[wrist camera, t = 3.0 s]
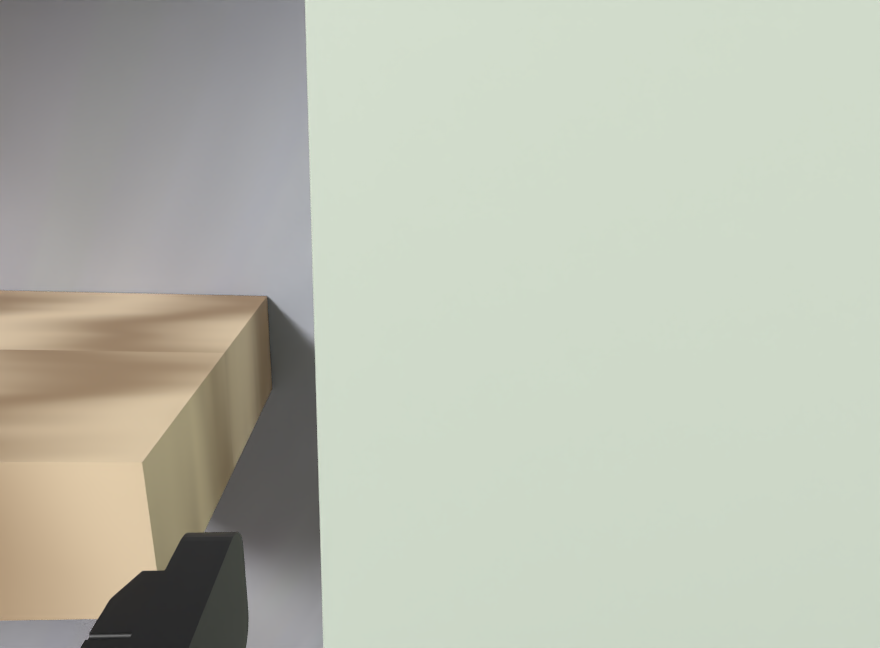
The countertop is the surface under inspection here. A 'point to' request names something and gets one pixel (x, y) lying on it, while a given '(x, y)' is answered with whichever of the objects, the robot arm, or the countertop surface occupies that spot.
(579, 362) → the sage board
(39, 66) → the countertop surface
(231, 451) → the oak u-shaped block
